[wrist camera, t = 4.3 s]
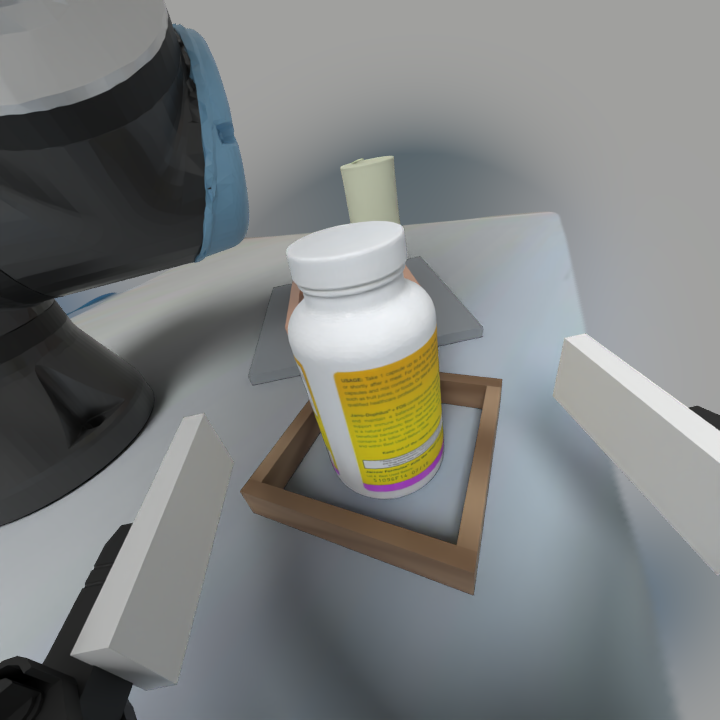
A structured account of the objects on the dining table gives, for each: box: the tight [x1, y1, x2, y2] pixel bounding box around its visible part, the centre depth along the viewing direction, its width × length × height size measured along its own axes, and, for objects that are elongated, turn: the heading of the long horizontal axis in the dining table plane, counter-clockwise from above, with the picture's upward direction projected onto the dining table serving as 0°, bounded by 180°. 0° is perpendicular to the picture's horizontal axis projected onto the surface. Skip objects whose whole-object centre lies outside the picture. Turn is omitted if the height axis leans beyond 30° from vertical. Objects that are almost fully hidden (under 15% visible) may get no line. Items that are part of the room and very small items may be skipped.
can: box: [340, 156, 400, 224], centre depth 59 cm, size 9×9×12 cm
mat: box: [248, 256, 483, 385], centre depth 36 cm, size 20×20×1 cm
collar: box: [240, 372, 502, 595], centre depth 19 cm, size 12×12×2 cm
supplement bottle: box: [286, 221, 444, 499], centre depth 16 cm, size 7×7×13 cm
